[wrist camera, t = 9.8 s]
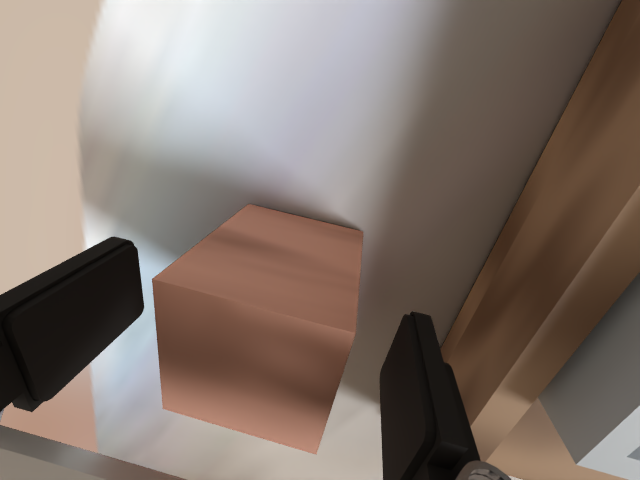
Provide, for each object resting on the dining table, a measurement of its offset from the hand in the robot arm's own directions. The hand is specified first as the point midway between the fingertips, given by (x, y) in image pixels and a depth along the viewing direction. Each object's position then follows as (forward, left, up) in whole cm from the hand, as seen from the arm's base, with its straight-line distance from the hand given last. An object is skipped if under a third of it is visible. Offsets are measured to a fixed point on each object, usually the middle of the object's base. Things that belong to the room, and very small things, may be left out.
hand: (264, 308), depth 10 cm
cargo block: (0, 0, -4) cm, 4 cm away
